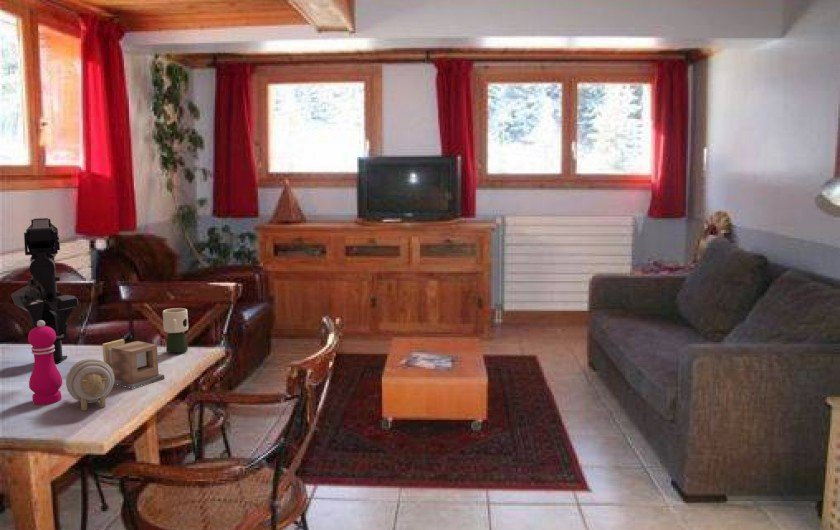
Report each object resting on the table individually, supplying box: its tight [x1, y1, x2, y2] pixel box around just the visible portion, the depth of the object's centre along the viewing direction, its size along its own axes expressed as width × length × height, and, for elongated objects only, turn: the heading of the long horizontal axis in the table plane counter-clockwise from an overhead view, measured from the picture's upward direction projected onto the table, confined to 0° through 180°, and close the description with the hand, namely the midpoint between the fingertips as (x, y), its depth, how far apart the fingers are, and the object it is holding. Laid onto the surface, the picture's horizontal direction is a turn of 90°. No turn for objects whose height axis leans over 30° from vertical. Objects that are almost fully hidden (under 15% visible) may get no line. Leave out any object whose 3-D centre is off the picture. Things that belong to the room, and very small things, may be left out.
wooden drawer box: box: [111, 340, 165, 389], centre depth 194 cm, size 18×10×9 cm, turn 59°
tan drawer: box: [102, 338, 147, 369], centre depth 194 cm, size 11×6×7 cm, turn 59°
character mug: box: [162, 307, 189, 354], centre depth 220 cm, size 11×7×13 cm, turn 15°
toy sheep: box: [65, 357, 115, 412], centre depth 174 cm, size 11×17×11 cm, turn 35°
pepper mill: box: [27, 320, 63, 405], centre depth 176 cm, size 7×7×20 cm
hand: (48, 331), depth 197 cm, fingers open, 9 cm apart
